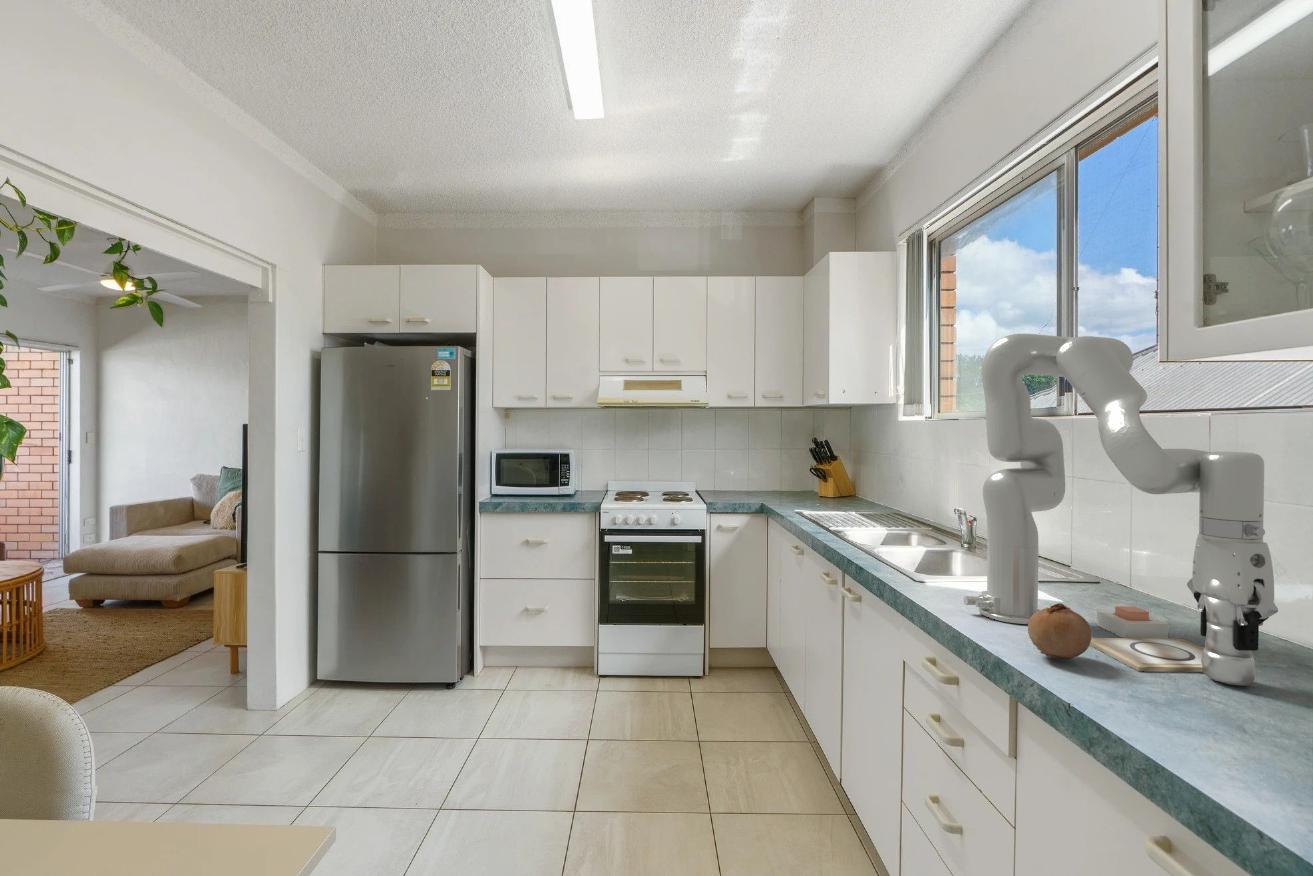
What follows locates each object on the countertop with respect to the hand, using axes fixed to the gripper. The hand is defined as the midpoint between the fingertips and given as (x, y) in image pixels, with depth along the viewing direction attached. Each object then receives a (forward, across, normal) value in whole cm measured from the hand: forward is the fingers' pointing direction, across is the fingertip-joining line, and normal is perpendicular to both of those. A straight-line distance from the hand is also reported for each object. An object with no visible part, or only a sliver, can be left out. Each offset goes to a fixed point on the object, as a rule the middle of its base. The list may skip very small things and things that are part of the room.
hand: (1228, 641), depth 100 cm
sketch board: (+6, +11, +2) cm, 13 cm away
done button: (+5, +24, -2) cm, 25 cm away
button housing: (+6, +24, -2) cm, 25 cm away
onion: (+7, +9, +21) cm, 24 cm away
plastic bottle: (+7, 0, 0) cm, 7 cm away
